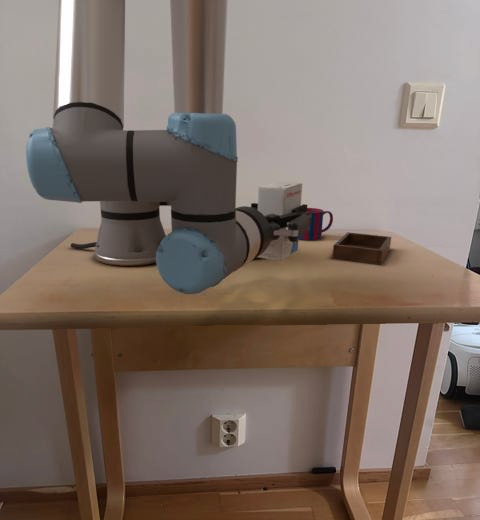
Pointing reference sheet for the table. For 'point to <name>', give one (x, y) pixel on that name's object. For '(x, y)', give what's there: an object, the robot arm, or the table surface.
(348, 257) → the wooden tray
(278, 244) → the ink box
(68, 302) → the table surface
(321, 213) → the cup
